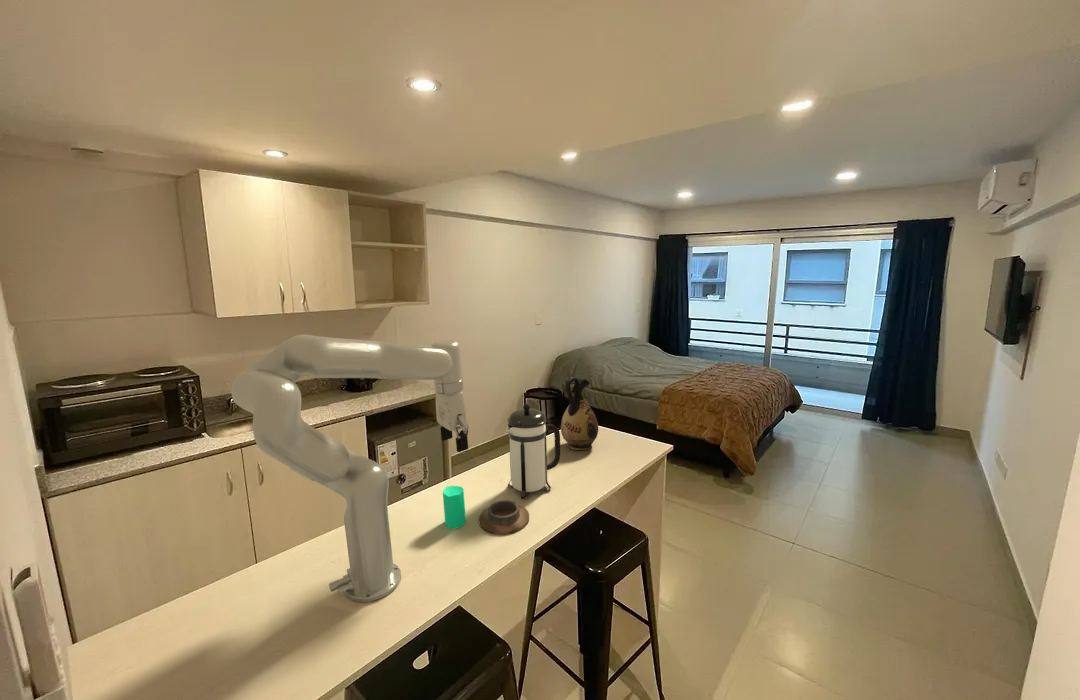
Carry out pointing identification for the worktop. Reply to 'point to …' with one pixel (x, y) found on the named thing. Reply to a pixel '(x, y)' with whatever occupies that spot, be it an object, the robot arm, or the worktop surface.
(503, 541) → the worktop surface
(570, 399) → the ceramic jug
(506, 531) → the candle holder
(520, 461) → the coffee press
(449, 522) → the candle
